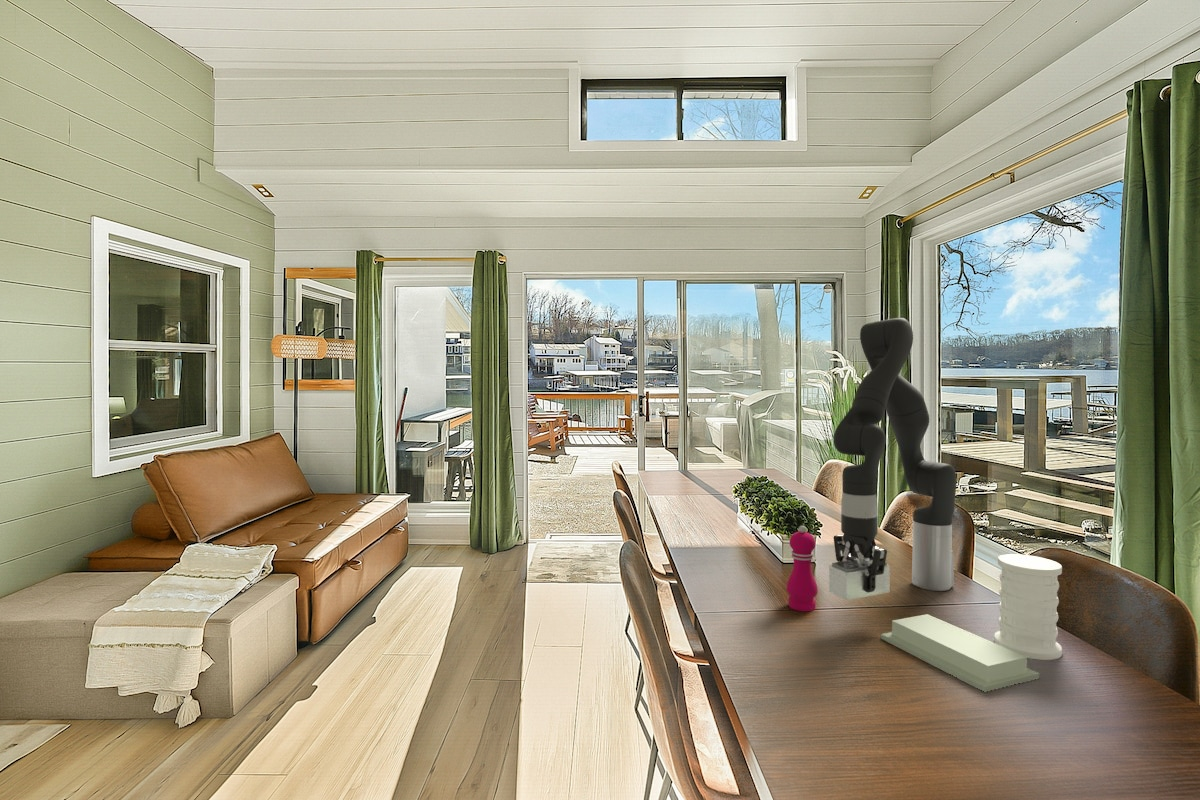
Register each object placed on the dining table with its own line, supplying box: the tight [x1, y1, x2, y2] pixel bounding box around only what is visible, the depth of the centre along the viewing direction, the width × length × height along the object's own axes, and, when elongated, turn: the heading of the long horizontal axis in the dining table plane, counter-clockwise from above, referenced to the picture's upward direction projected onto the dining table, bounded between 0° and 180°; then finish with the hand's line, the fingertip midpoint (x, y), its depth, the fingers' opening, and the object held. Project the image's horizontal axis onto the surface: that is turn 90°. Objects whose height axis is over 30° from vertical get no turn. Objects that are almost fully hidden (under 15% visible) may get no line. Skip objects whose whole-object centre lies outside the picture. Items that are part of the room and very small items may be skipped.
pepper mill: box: [786, 525, 818, 612], centre depth 150 cm, size 7×7×20 cm
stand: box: [880, 613, 1040, 693], centre depth 124 cm, size 14×24×4 cm, turn 20°
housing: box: [828, 558, 891, 601], centre depth 139 cm, size 12×6×7 cm, turn 110°
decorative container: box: [993, 553, 1063, 661], centre depth 128 cm, size 12×12×18 cm
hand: (859, 586), depth 139 cm, fingers closed on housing, 5 cm apart
